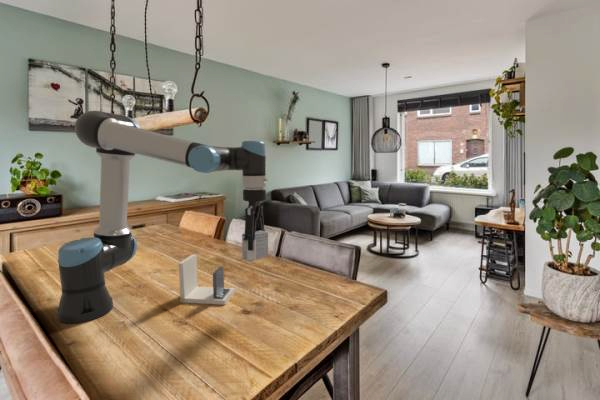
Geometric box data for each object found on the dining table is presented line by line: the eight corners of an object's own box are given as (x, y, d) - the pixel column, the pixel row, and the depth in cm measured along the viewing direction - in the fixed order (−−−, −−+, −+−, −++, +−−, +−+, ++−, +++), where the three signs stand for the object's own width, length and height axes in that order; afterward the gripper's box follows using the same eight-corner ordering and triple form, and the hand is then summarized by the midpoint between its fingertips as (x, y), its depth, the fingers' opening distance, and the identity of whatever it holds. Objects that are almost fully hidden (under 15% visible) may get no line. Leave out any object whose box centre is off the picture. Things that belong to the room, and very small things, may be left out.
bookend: (213, 298, 111) (212, 273, 110) (221, 290, 118) (220, 266, 117) (223, 298, 111) (222, 273, 110) (229, 290, 118) (229, 266, 117)
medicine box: (259, 253, 113) (259, 229, 112) (268, 256, 111) (268, 231, 109) (242, 259, 107) (241, 233, 106) (251, 262, 105) (250, 236, 103)
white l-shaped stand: (180, 302, 112) (178, 263, 110) (194, 289, 122) (192, 254, 120) (225, 304, 110) (223, 265, 108) (234, 292, 120) (233, 255, 118)
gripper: (257, 192, 95) (258, 266, 98) (272, 185, 116) (272, 246, 119) (232, 191, 96) (234, 265, 99) (252, 185, 117) (253, 246, 120)
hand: (255, 255), depth 109 cm, fingers closed on medicine box, 9 cm apart
